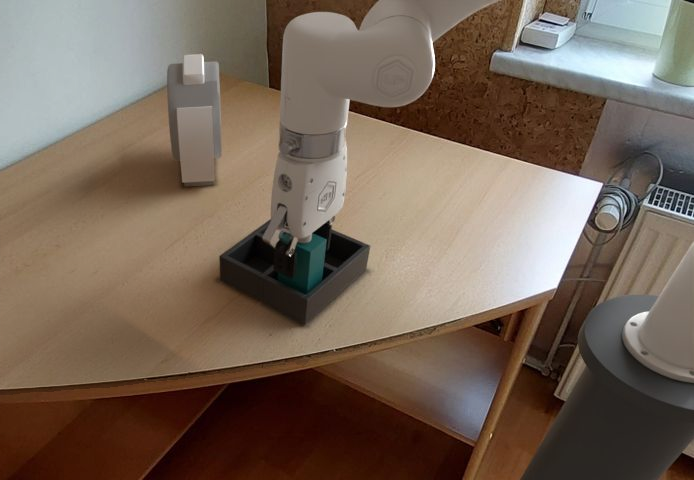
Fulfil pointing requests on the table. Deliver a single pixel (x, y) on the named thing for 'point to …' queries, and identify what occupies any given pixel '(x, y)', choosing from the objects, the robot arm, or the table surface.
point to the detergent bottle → (306, 263)
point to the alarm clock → (195, 118)
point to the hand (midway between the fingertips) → (301, 259)
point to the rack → (261, 284)
